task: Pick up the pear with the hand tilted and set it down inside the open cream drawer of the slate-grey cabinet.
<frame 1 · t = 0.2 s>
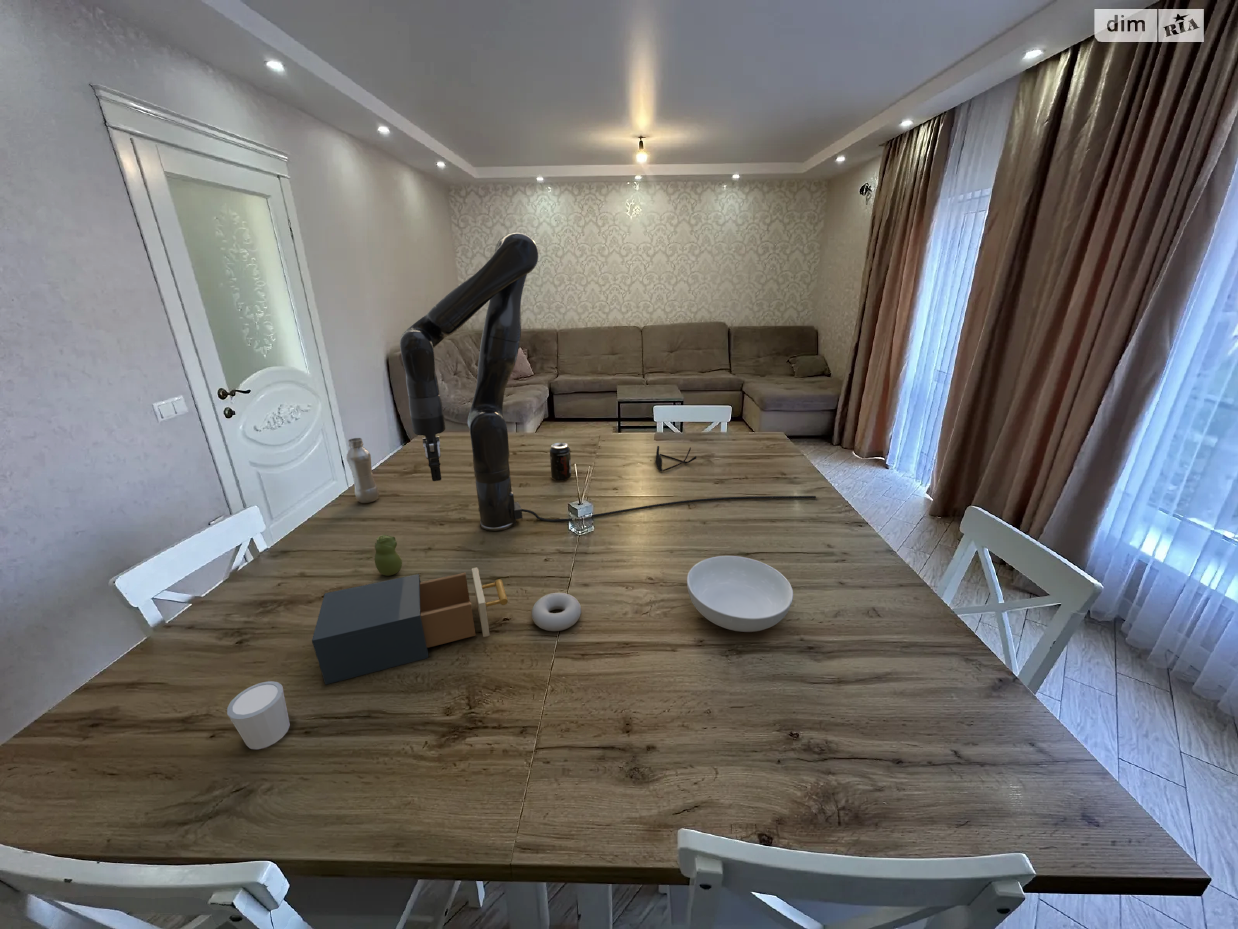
hand: (436, 474, 124), 17 cm above the table, tool pointing down, fingers open, 8 cm apart
drawer: (454, 606, 94), point 5 cm above the table, slide at 10.0 cm
donut: (557, 618, 98), on the table
serving bowl: (736, 611, 100), on the table
cabinet: (380, 645, 91), on the table
pear: (391, 574, 113), on the table
plastic bottle: (368, 501, 149), on the table
sunglasses: (674, 464, 177), on the table
beverage can: (561, 478, 165), on the table
white tapered tub: (268, 733, 74), on the table
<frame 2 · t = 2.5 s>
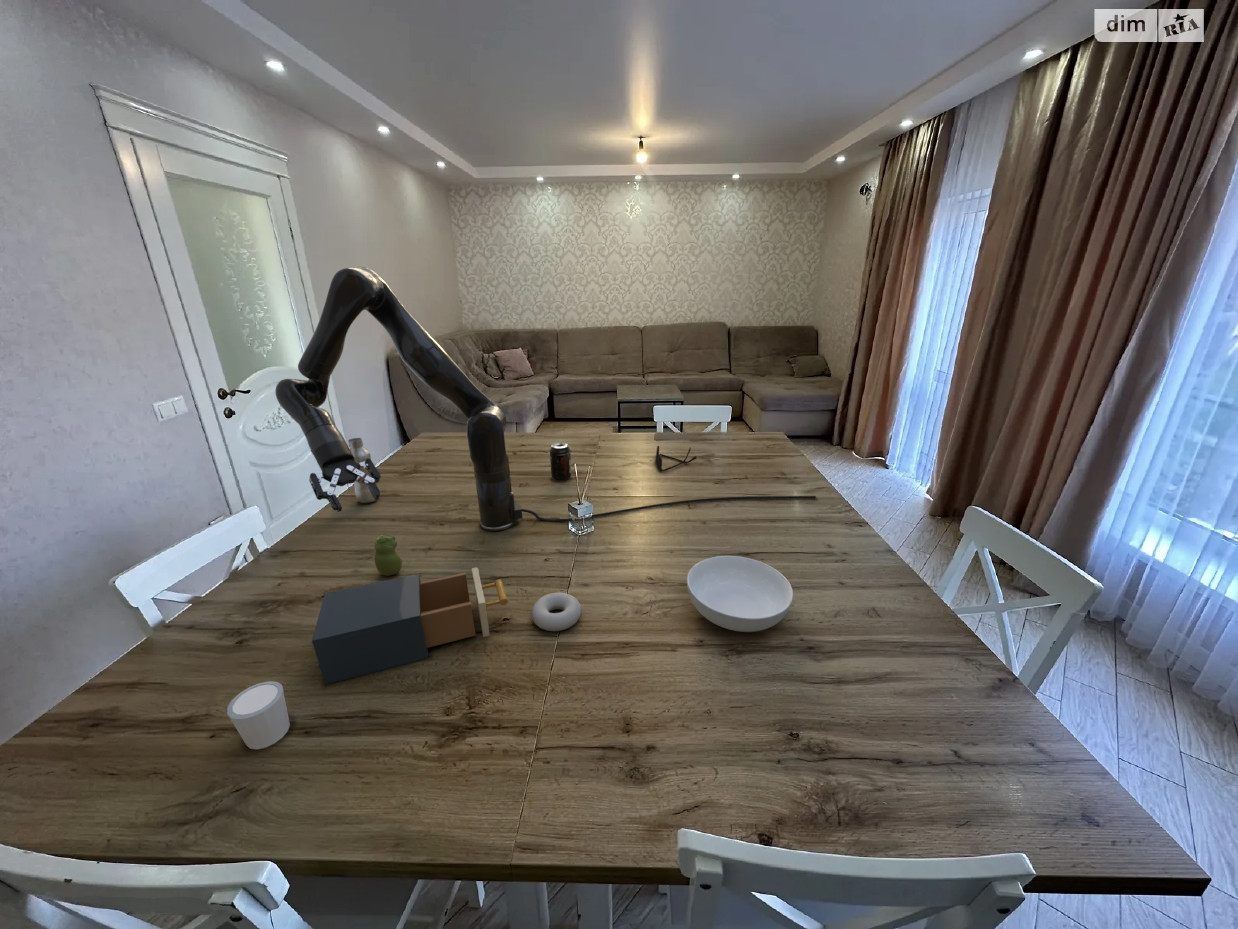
hand: (359, 504, 115), 15 cm above the table, tool tilted 45°, fingers open, 8 cm apart
nothing on the table moved.
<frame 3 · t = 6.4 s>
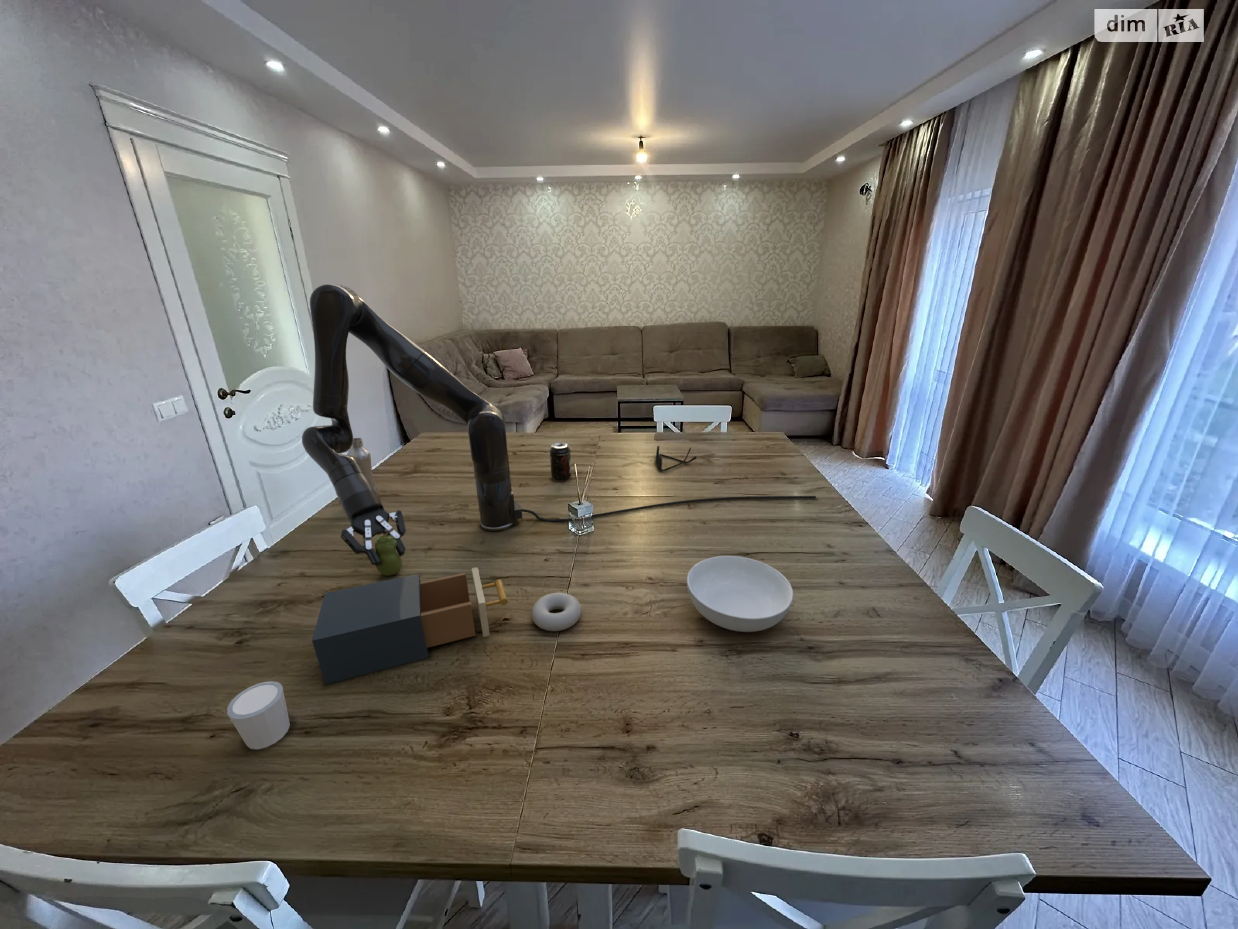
hand: (390, 559, 110), 5 cm above the table, tool tilted 45°, fingers closed on pear, 5 cm apart
pear: (391, 574, 113), on the table, touching gripper
everything else where it was.
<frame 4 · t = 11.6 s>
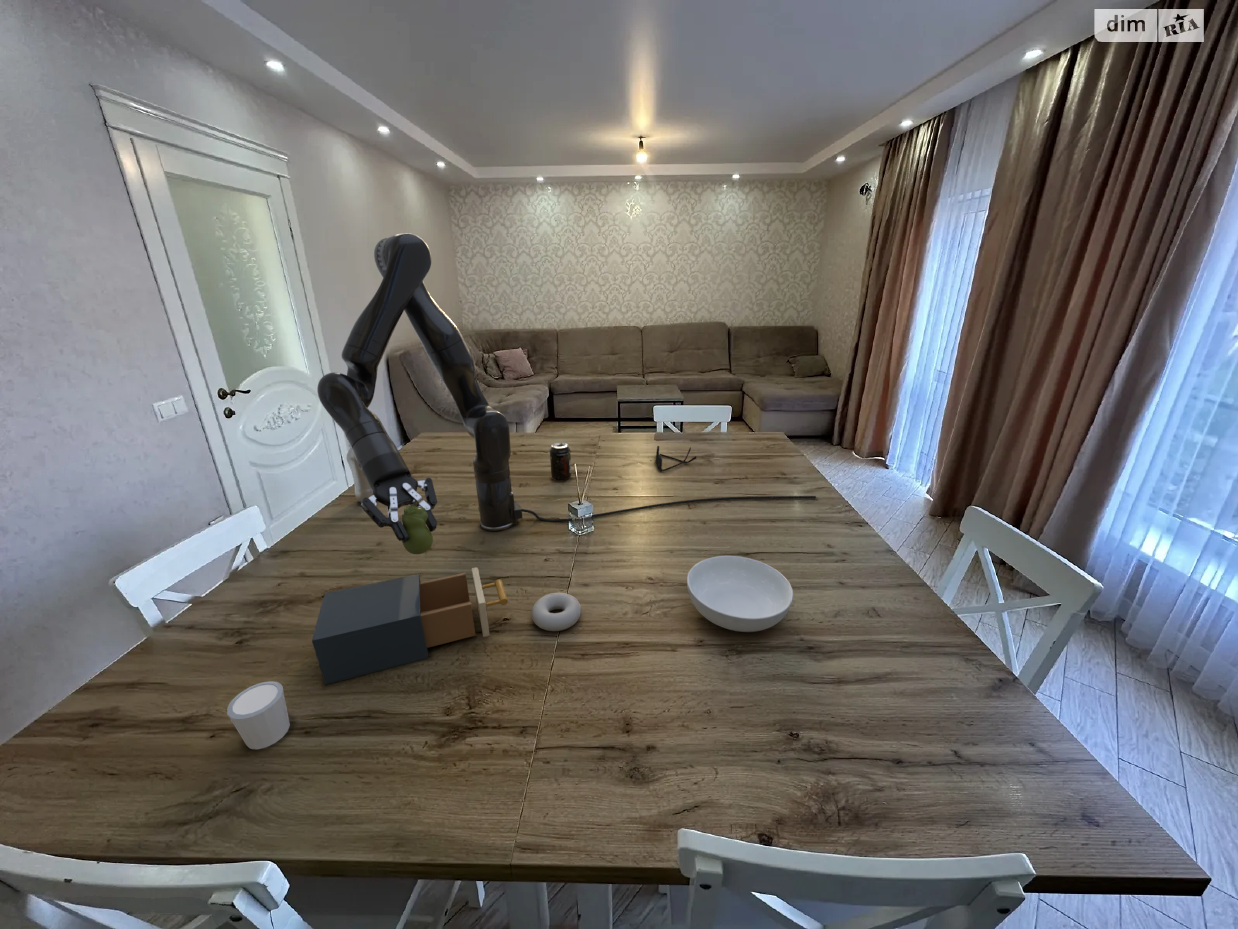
hand: (420, 534, 92), 19 cm above the table, tool tilted 45°, fingers closed on pear, 5 cm apart
pear: (420, 552, 95), point 14 cm above the table, touching gripper
everything else where it was.
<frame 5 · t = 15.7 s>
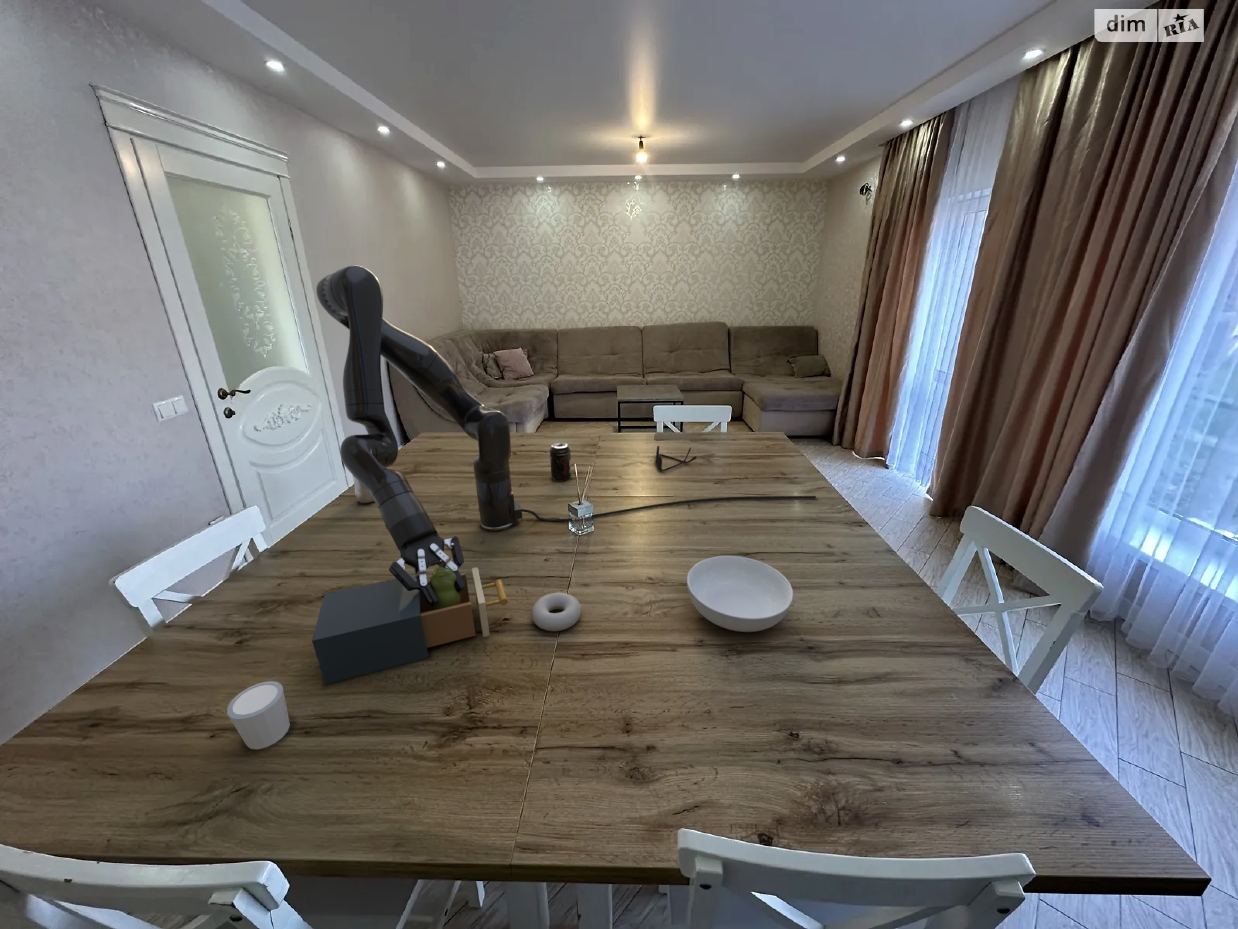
hand: (448, 596, 91), 8 cm above the table, tool tilted 45°, fingers closed on pear, 4 cm apart
pear: (447, 613, 94), point 4 cm above the table, touching gripper
everything else where it was.
when the fingers open (8 cm above the table, at t = 17.3 s): pear drops 2 cm, resting on drawer.
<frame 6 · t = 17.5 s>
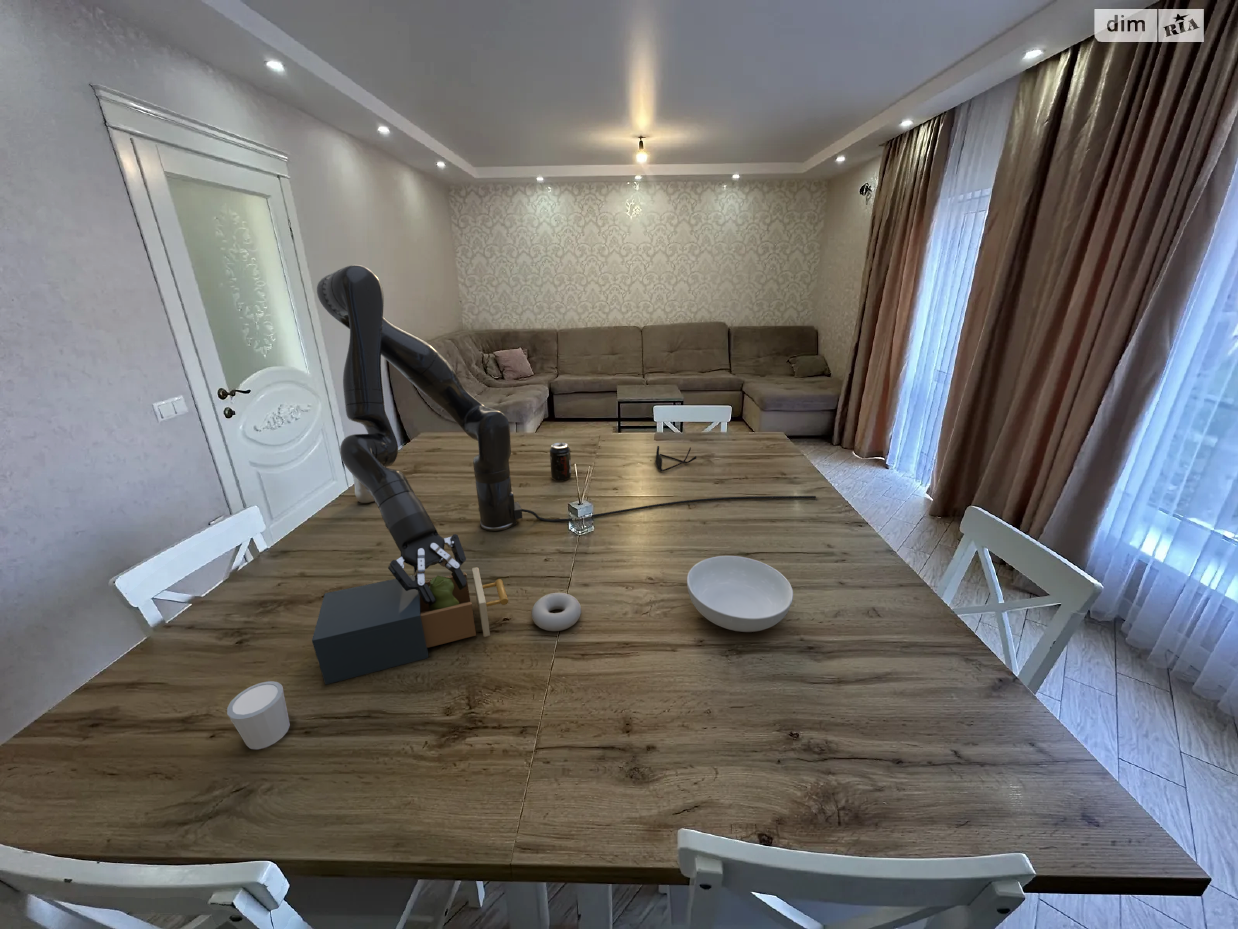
hand: (448, 595, 91), 9 cm above the table, tool tilted 45°, fingers open, 5 cm apart
drawer: (454, 606, 94), point 5 cm above the table, slide at 10.1 cm, touching pear
pear: (448, 620, 95), point 2 cm above the table, touching drawer
everything else where it was.
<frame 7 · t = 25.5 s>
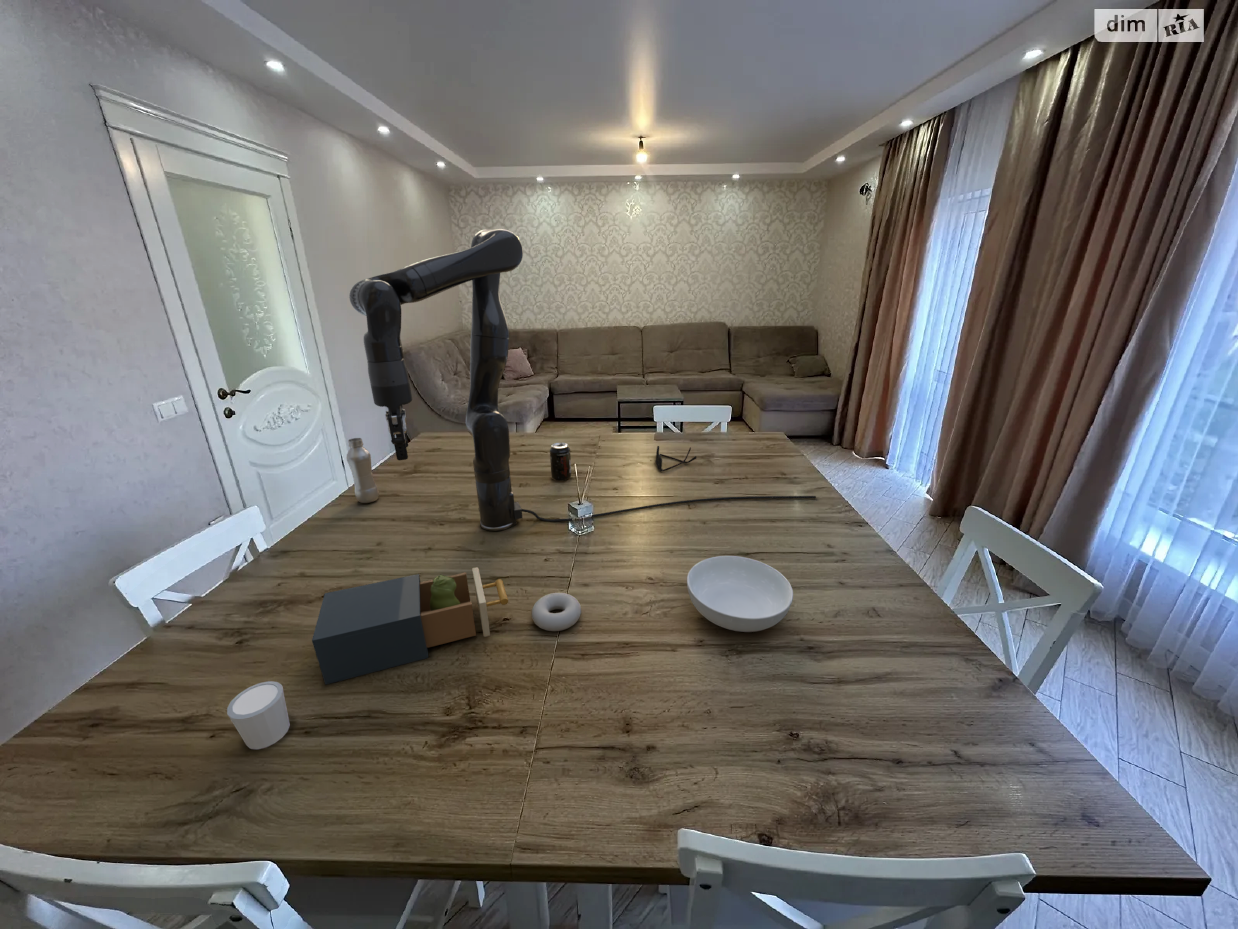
hand: (403, 453, 108), 28 cm above the table, tool pointing down, fingers open, 8 cm apart
nothing on the table moved.
at the end: pear inside the target area in the drawer (0.1 cm from its centre), point 1.8 cm above the cabinet's base; pear tilted 0° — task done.
